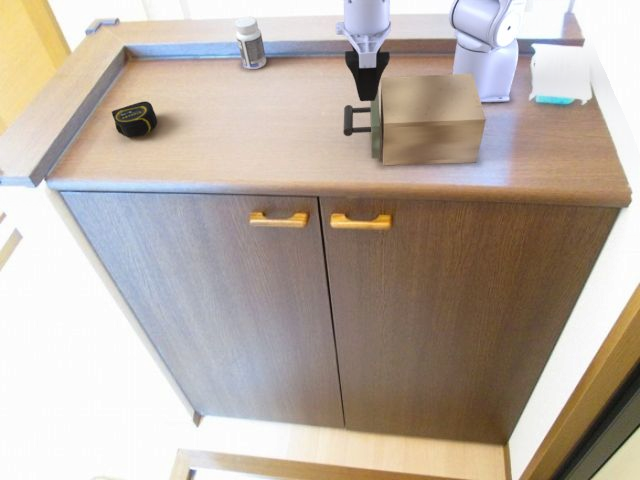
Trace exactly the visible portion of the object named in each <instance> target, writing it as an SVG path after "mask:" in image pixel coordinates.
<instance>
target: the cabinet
mask: <svg viewBox="0 0 640 480" xmlns="http://www.w3.org/2000/svg"><path fill="white" fill-rule="evenodd" d="M482 104H483V103H481V101H480V97H479V94H478V91H477V87H476V84H475V81H474V77H473V74H472V73H468V74H452V73H450V74H448V73H447V74H430V75H411V76H407V75H406V76H392V77H391V76H390V77H389V76H388V77H381V79H380V138H381V153H382V154H381V155H382V165H383V166H406V165H408V166H409V165H436V164H437V165H441V164H442V165H443V164H473V163H477V160H478V156H479V152H480V147H481V144H482V138H483V135H484V130H485V126H486V122H487V118H486V115H485V112H484V108H483V105H482Z"/></svg>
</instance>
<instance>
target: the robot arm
mask: <svg viewBox="0 0 640 480" xmlns="http://www.w3.org/2000/svg"><path fill="white" fill-rule="evenodd" d="M526 4H527V0H453V2H452V4H451V6H450V9H449V14H448V20H449V21H448V22H449V24H450V27H451V28H453V29H454V36H453V37H455V38H456V46H455V51H454V52H455V53H454V58H453V59H454V60H453V65H452V66H453V67H452V73H451V74H468V73H472V74H473V77H474V81H475V84H476V87H477V91H478V94H479V97H480V101H481V104H483V103H505V102H509V101H510V92H511V89H512V85H513V82H514V81H513V80H514V76H515V73H516V69H517V64H518V60H519V59H518V58H519V44H518V43H519V42H518V41H517V38H516V37H517V35H518V34H519V32H520V30H521V28H522V25H523V21H524V10H525V6H526ZM390 13H391V0H343V21H342V22H337V23H335V34H336V35H338V36H340V35H341V36H345V38H346V39H347V40H348V42H349V43H350V46H351V48H352V50H347V51H345V52H344V61H345V65H346V67H347V68H348V70H349V71H350V73H351V75H352V77H353V79H354V82H355V87H356V92H357V96H358V99H359V101H360V102H370V101H375V99H376V96H377V92H378V93H379V87H380V84H381V78H382V76H383V74H384V71H385V69H386V68H387V67H388V65H389V62H390V59H391V56H390V51H381V48H382V45H383V44H384V43H385V40H386V39H387V37H388V36H389V34H390V32H391V31H392V22H391V20H390V19H391V17H390V15H391V14H390Z"/></svg>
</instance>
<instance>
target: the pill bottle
mask: <svg viewBox="0 0 640 480" xmlns="http://www.w3.org/2000/svg"><path fill="white" fill-rule="evenodd" d="M235 28H236V33H235V34H236V35H235V36H236V41H237V45H238V49H239V54H240V58H241V61H242V66H243V67H244V68H245V69H248V70H258V69H261V68H262V67H264V66H265V65H266V64H267V56H266V52H265V51H266V50H265V46H264V41H263V36H262V32H261V29H260V28H259V25H258V21H257V18H256V17H254V16H243V17H240V18H239V19H237V20H236V21H235Z"/></svg>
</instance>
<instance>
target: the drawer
mask: <svg viewBox="0 0 640 480" xmlns="http://www.w3.org/2000/svg"><path fill="white" fill-rule="evenodd" d="M379 98H380V97H379V91H378V92H377V96H376V99H375V101H369V106H367V107H366V106H365V107H353V105H351V104H347V105H345V106H344V108H343V130H342V131H343V132H342V134H343V135H344V136H346V137H350V136H352V135H353V134H359V133H361V134H362V133H370V149H371V150H370V151H371V153H370V154H371V159H380V158H381V153H380V152H381V148H380V147H381V113H380V99H379ZM361 113H362V114H364V113H366V114H367V113H369V117H370V120H369V121H370V126H359V127H357V126H355V127H354V114H361Z"/></svg>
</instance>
